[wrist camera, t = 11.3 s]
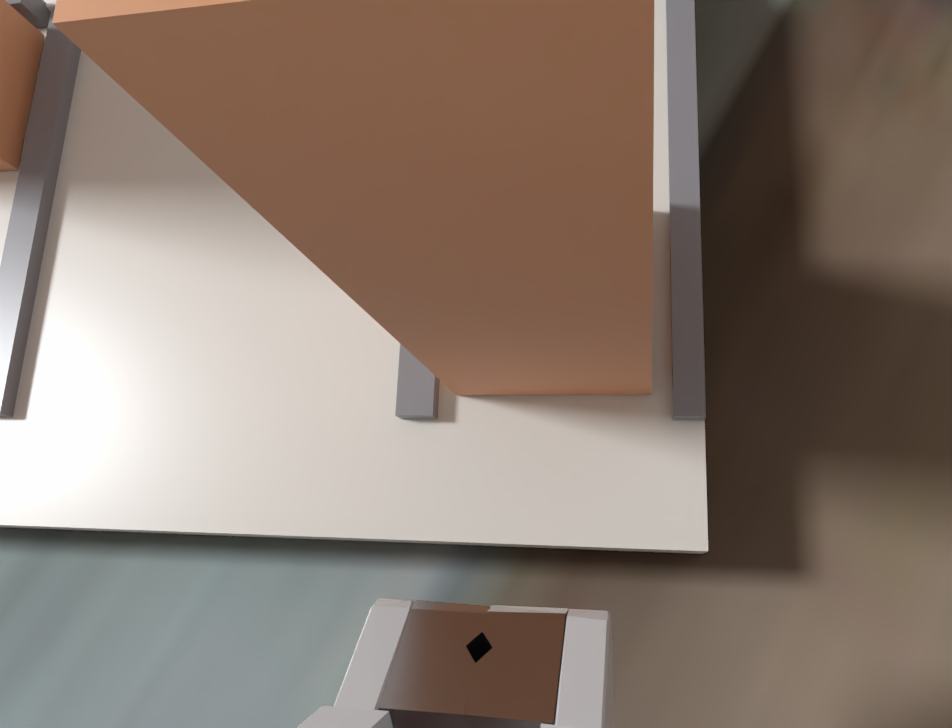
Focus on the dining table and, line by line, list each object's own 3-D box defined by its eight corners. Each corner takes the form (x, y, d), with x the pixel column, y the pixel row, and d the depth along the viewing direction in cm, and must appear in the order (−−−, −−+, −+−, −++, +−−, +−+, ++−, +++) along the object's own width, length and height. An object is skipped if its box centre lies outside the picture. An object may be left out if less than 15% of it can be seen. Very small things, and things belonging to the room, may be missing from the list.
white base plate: (-146, 521, 22) (-266, 513, 19) (-29, 9, 26) (-115, -61, 23) (702, 554, 17) (712, 549, 14) (685, -78, 21) (691, -180, 18)
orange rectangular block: (456, 395, 17) (-45, -67, 5) (465, 218, 18) (68, -541, 6) (651, 394, 16) (655, -170, 4) (650, 209, 17) (647, -705, 5)
